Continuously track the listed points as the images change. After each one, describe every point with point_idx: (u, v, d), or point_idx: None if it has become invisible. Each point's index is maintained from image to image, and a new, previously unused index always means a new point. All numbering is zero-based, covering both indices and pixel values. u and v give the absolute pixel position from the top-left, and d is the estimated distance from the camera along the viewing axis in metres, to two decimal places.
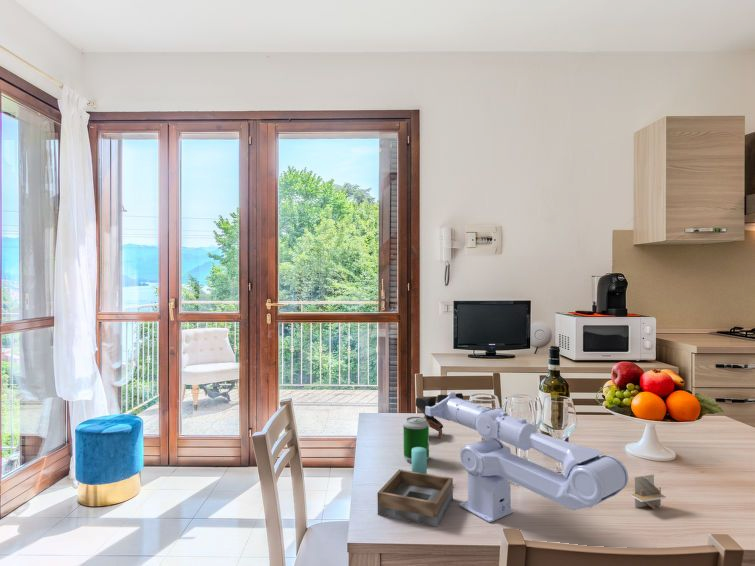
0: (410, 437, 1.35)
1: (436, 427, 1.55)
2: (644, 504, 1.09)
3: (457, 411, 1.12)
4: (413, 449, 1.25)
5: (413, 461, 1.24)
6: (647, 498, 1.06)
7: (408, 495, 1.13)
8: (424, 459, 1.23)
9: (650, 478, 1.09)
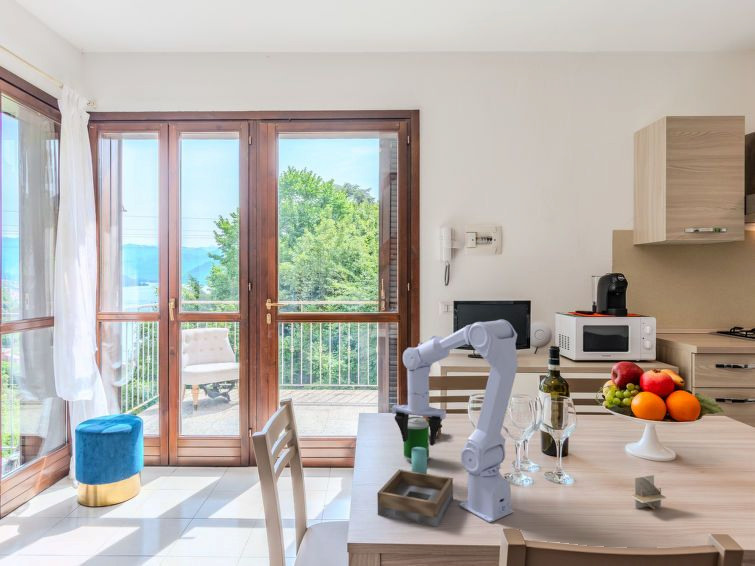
0: (410, 437, 1.35)
1: None
2: (644, 505, 1.08)
3: (408, 392, 1.24)
4: (413, 449, 1.25)
5: (413, 461, 1.24)
6: (648, 499, 1.05)
7: (408, 495, 1.13)
8: (424, 459, 1.23)
9: (650, 479, 1.09)
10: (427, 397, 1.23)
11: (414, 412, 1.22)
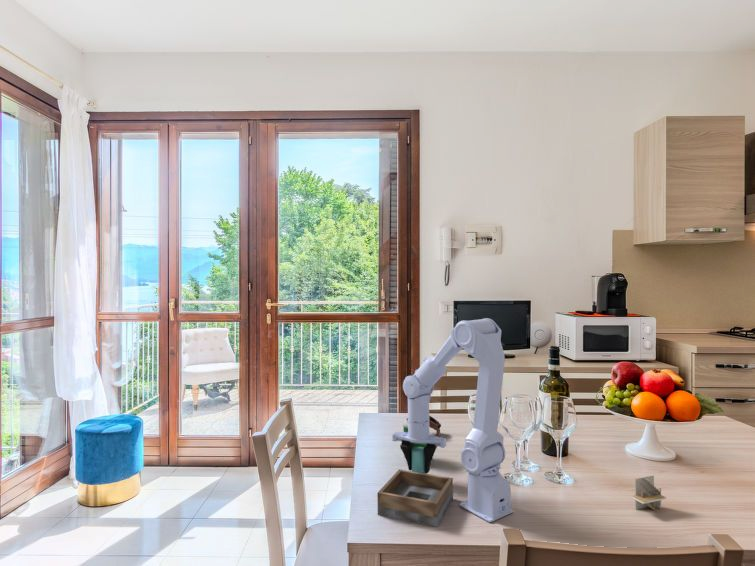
0: None
1: (434, 426, 1.56)
2: (644, 505, 1.08)
3: (409, 420, 1.24)
4: (413, 449, 1.25)
5: (413, 461, 1.24)
6: (648, 500, 1.05)
7: (408, 495, 1.13)
8: (424, 459, 1.23)
9: (650, 479, 1.09)
10: (427, 425, 1.23)
11: (414, 441, 1.22)
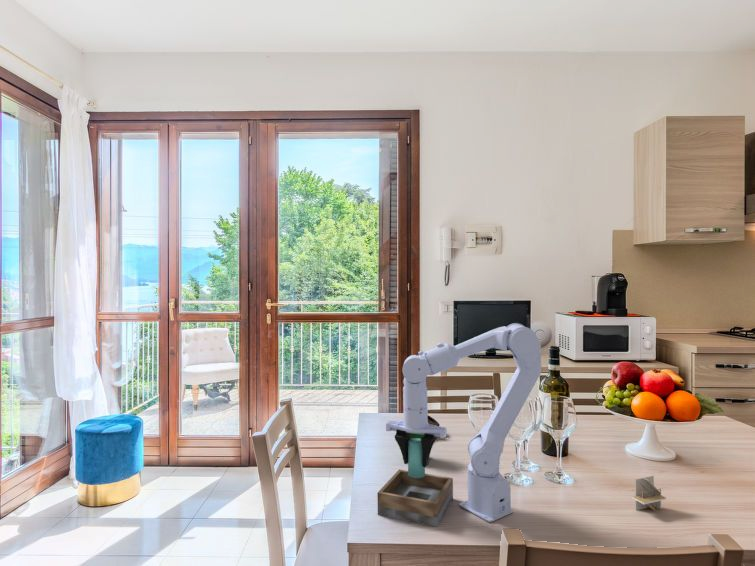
0: (410, 437, 1.35)
1: None
2: (644, 506, 1.08)
3: (411, 408, 1.08)
4: (410, 440, 1.11)
5: (410, 454, 1.09)
6: (649, 500, 1.05)
7: (408, 495, 1.13)
8: None
9: (650, 480, 1.08)
10: (425, 413, 1.09)
11: (410, 430, 1.08)
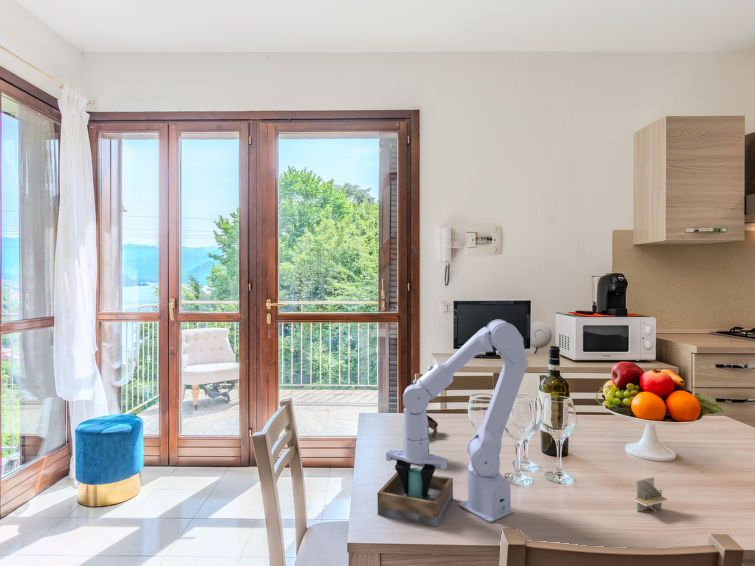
0: None
1: (431, 425, 1.57)
2: (645, 507, 1.07)
3: (411, 439, 1.07)
4: (410, 470, 1.11)
5: (410, 484, 1.09)
6: (651, 502, 1.04)
7: None
8: None
9: (651, 481, 1.08)
10: (426, 443, 1.08)
11: (411, 461, 1.07)
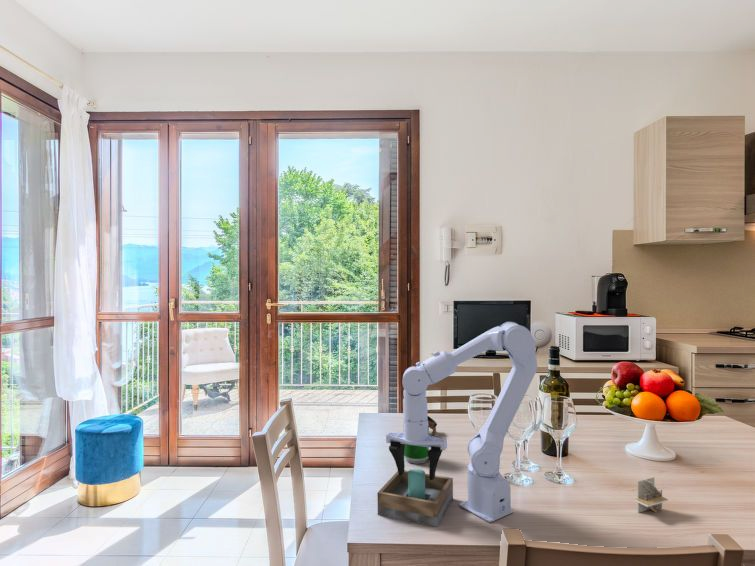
0: None
1: (430, 425, 1.57)
2: (646, 508, 1.07)
3: (411, 421, 1.07)
4: (410, 472, 1.10)
5: (410, 486, 1.09)
6: (652, 502, 1.04)
7: None
8: (422, 483, 1.09)
9: (651, 481, 1.08)
10: (425, 425, 1.08)
11: (411, 442, 1.07)
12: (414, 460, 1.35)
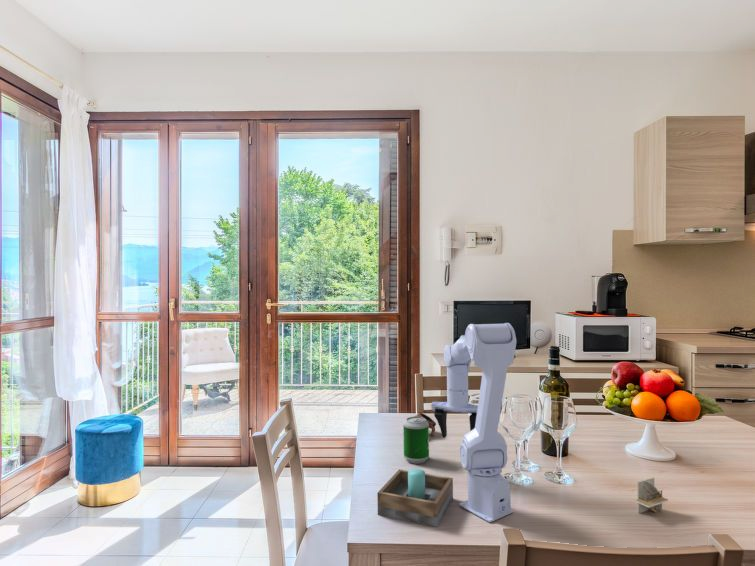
0: (410, 437, 1.35)
1: (429, 425, 1.58)
2: (646, 508, 1.07)
3: (447, 387, 1.28)
4: (410, 472, 1.10)
5: (410, 486, 1.09)
6: (652, 503, 1.03)
7: None
8: (422, 483, 1.09)
9: (651, 481, 1.07)
10: (467, 394, 1.26)
11: (454, 409, 1.25)
12: (414, 460, 1.35)
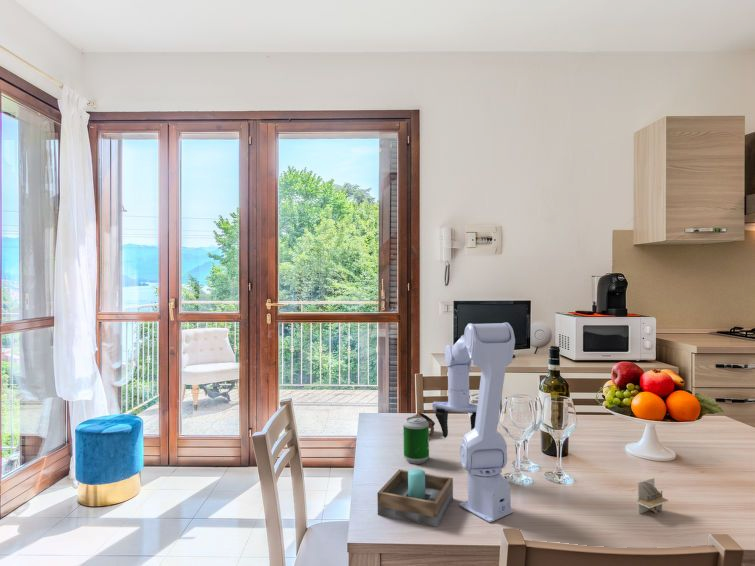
0: (410, 437, 1.35)
1: None
2: (646, 509, 1.06)
3: (448, 387, 1.28)
4: (410, 472, 1.10)
5: (410, 486, 1.09)
6: (653, 504, 1.03)
7: None
8: (422, 483, 1.09)
9: (651, 482, 1.07)
10: (468, 394, 1.26)
11: (455, 408, 1.25)
12: (414, 460, 1.35)
